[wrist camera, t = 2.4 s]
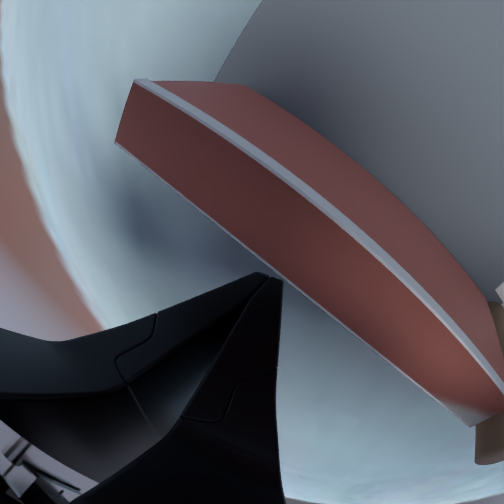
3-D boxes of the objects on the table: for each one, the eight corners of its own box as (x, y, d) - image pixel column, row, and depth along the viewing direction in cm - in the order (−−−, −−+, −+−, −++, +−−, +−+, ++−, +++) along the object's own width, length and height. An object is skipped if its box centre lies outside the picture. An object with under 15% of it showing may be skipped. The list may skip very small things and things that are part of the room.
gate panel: (486, 297, 6) (513, 404, 3) (458, 319, 7) (469, 427, 4) (245, 83, 7) (133, 78, 4) (225, 119, 8) (114, 142, 4)
